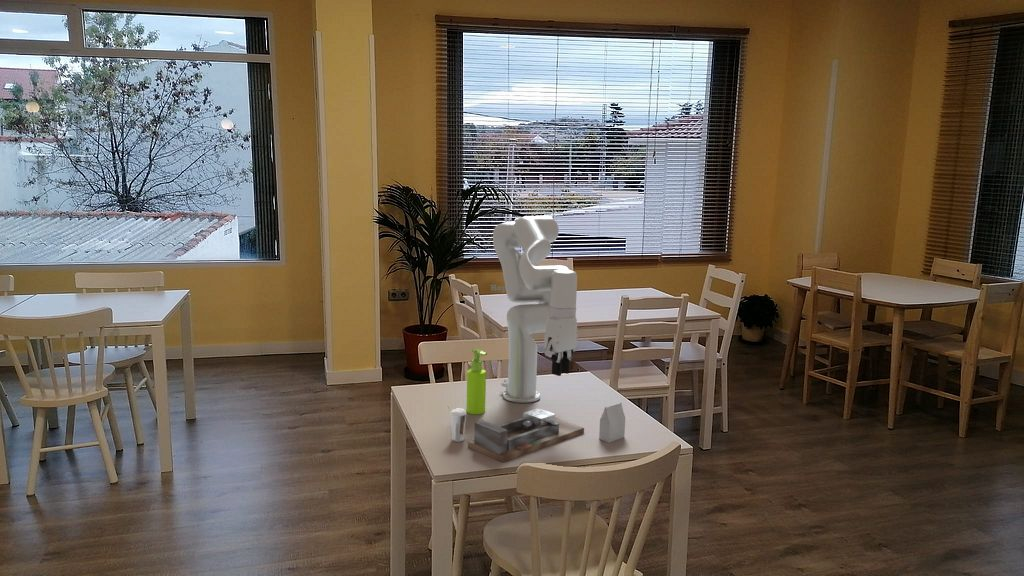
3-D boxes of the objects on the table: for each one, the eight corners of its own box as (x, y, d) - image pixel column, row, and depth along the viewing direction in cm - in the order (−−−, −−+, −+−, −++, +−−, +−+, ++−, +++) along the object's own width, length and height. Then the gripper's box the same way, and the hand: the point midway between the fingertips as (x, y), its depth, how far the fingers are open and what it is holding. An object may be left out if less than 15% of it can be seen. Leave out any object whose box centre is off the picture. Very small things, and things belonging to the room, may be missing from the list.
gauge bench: (549, 419, 227) (550, 396, 226) (583, 432, 217) (585, 408, 216) (467, 446, 204) (468, 420, 203) (502, 462, 195) (503, 435, 193)
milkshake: (448, 436, 212) (448, 403, 210) (466, 437, 212) (467, 403, 210) (446, 442, 207) (446, 408, 205) (465, 443, 207) (465, 409, 205)
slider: (537, 424, 218) (537, 407, 217) (562, 433, 211) (563, 417, 210) (515, 431, 212) (516, 414, 211) (541, 441, 205) (541, 424, 204)
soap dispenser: (476, 416, 229) (477, 354, 225) (462, 410, 234) (463, 349, 230) (491, 412, 232) (492, 351, 229) (477, 406, 237) (478, 346, 234)
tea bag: (624, 437, 215) (626, 404, 213) (608, 442, 210) (610, 409, 209) (614, 433, 217) (616, 401, 216) (599, 438, 213) (600, 405, 211)
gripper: (571, 307, 222) (569, 366, 225) (533, 313, 211) (532, 376, 214) (590, 311, 217) (588, 371, 220) (553, 318, 206) (551, 382, 209)
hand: (560, 373), depth 217 cm, fingers closed
